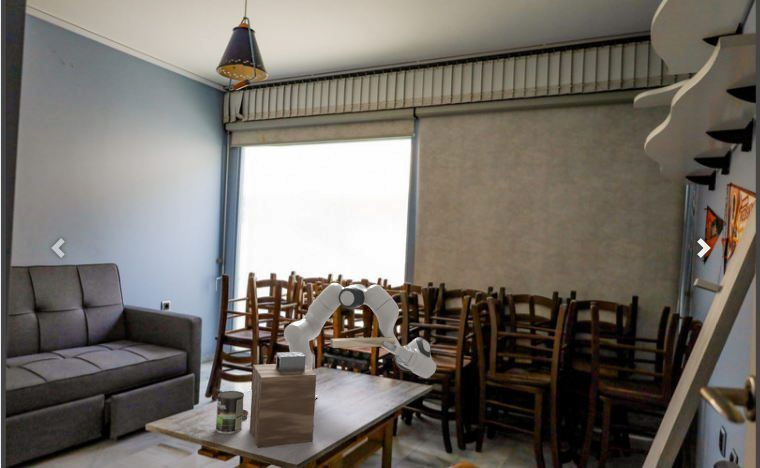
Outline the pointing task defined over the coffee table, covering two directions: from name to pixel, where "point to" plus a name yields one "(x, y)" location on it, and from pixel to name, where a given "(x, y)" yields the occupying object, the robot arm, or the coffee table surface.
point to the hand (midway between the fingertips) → (381, 340)
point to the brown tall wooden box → (282, 406)
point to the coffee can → (229, 412)
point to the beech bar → (360, 342)
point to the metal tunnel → (290, 361)
